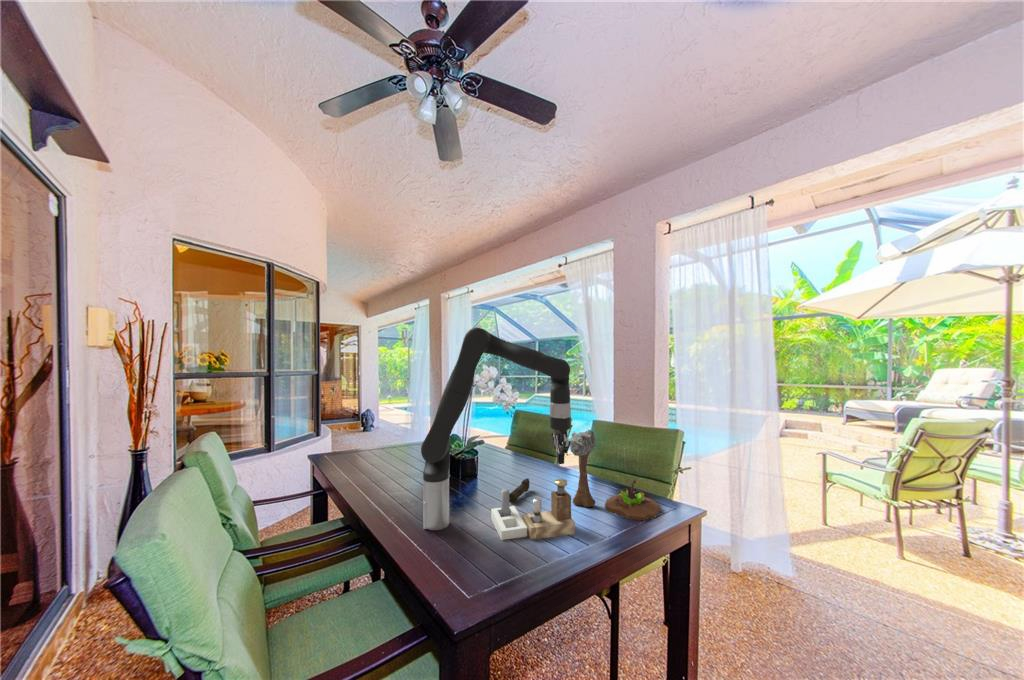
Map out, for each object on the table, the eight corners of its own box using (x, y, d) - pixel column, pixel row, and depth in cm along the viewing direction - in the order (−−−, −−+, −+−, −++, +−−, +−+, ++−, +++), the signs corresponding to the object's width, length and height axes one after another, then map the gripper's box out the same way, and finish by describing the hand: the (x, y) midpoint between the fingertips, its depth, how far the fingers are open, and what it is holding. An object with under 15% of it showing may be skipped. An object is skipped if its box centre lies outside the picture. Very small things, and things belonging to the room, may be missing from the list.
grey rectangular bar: (534, 536, 126) (534, 501, 126) (532, 532, 129) (531, 498, 129) (542, 535, 127) (542, 500, 127) (540, 531, 130) (539, 497, 130)
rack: (501, 543, 122) (501, 507, 122) (491, 519, 138) (491, 487, 138) (527, 539, 124) (526, 504, 124) (514, 516, 141) (514, 485, 141)
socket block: (530, 543, 122) (530, 504, 122) (522, 528, 132) (522, 492, 132) (574, 536, 126) (574, 498, 126) (563, 522, 136) (563, 487, 136)
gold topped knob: (557, 504, 127) (557, 484, 127) (553, 498, 132) (552, 479, 132) (569, 502, 129) (569, 482, 129) (564, 497, 133) (564, 478, 133)
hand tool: (515, 504, 150) (515, 492, 150) (506, 502, 152) (506, 491, 152) (534, 488, 167) (534, 478, 167) (526, 486, 169) (526, 476, 169)
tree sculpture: (594, 513, 142) (593, 437, 142) (568, 510, 145) (567, 435, 146) (597, 498, 156) (597, 428, 156) (574, 495, 160) (573, 426, 160)
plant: (669, 510, 145) (668, 482, 145) (643, 527, 133) (643, 496, 133) (624, 494, 161) (624, 469, 161) (597, 508, 148) (597, 480, 148)
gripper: (544, 412, 136) (544, 458, 136) (557, 419, 123) (557, 470, 123) (562, 411, 138) (563, 456, 138) (577, 418, 125) (578, 468, 125)
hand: (560, 463), depth 130 cm, fingers closed
